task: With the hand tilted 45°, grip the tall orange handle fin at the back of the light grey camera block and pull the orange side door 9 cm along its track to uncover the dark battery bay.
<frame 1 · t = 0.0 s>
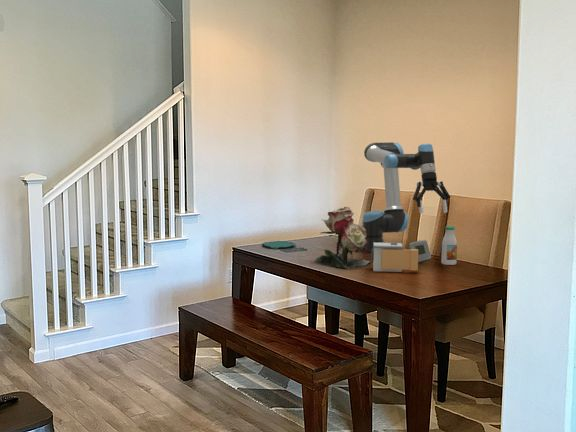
hand: (433, 212, 310), 28 cm above the table, tool tilted 20°, fingers open, 13 cm apart
camera door: (399, 259, 297), point 6 cm above the table, slide at 0.0 cm
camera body: (387, 269, 304), on the table
cutlery set: (283, 248, 366), on the table
digital clock: (419, 261, 327), on the table
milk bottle: (448, 264, 319), on the table
rose bouquet: (346, 263, 321), on the table
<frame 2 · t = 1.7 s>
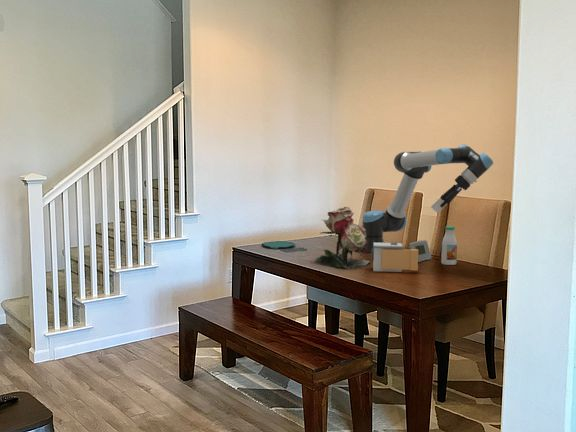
hand: (434, 210, 301), 30 cm above the table, tool tilted 45°, fingers open, 13 cm apart
nothing on the table moved.
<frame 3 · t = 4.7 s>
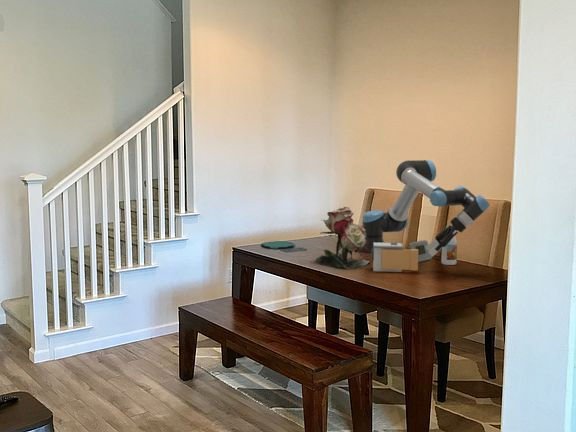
hand: (428, 251, 294), 11 cm above the table, tool tilted 45°, fingers open, 13 cm apart
nothing on the table moved.
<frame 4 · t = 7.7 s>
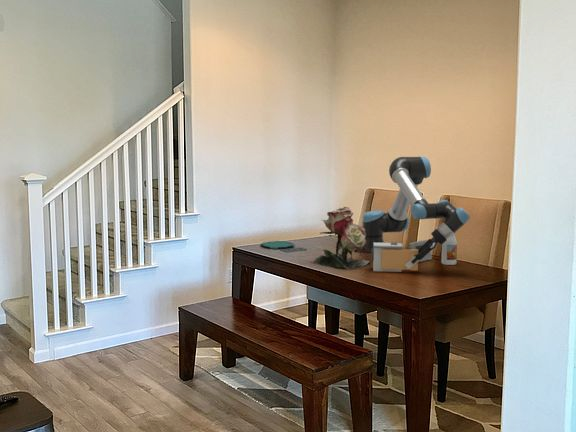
hand: (406, 266, 297), 3 cm above the table, tool tilted 45°, fingers closed on camera door, 3 cm apart
camera door: (399, 259, 297), point 6 cm above the table, slide at 0.0 cm, touching gripper
everything else where it was.
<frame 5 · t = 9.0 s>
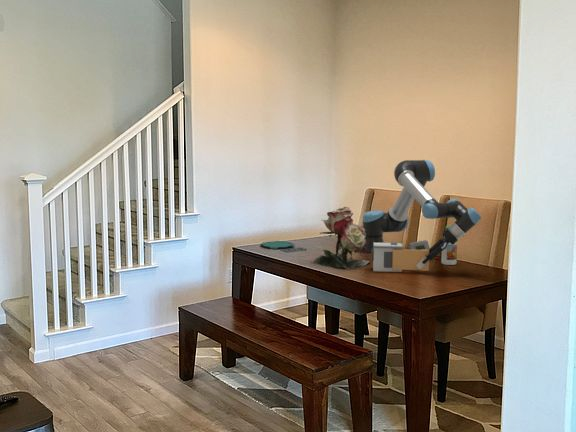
hand: (417, 266, 297), 3 cm above the table, tool tilted 45°, fingers closed on camera door, 3 cm apart
camera door: (410, 259, 297), point 6 cm above the table, slide at 5.2 cm, touching gripper
everything else where it was.
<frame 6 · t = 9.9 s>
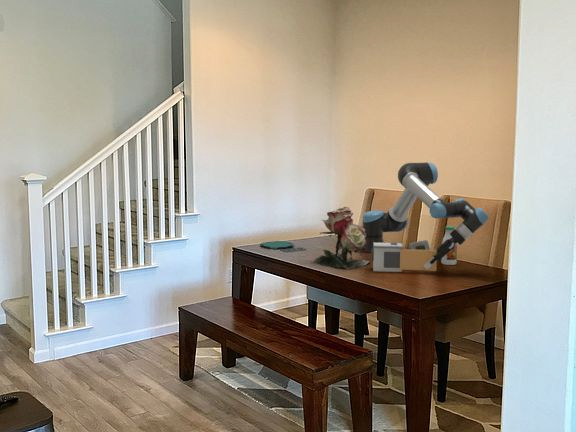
hand: (424, 266, 296), 3 cm above the table, tool tilted 45°, fingers closed on camera door, 3 cm apart
camera door: (418, 259, 296), point 6 cm above the table, slide at 8.9 cm, touching gripper
everything else where it was.
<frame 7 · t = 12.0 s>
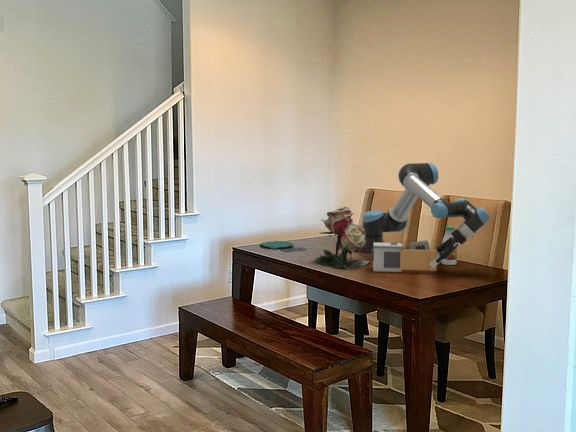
hand: (429, 263, 296), 5 cm above the table, tool tilted 45°, fingers open, 13 cm apart
camera door: (418, 259, 296), point 6 cm above the table, slide at 8.9 cm
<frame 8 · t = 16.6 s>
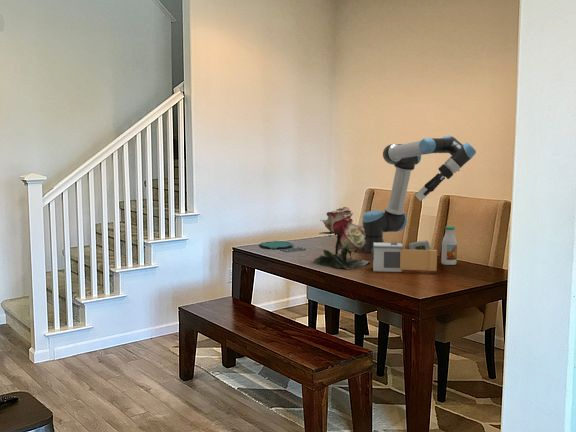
hand: (417, 198, 306), 36 cm above the table, tool tilted 45°, fingers open, 13 cm apart
at the end: camera door slide at 8.9 cm; the gripper is holding nothing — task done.
